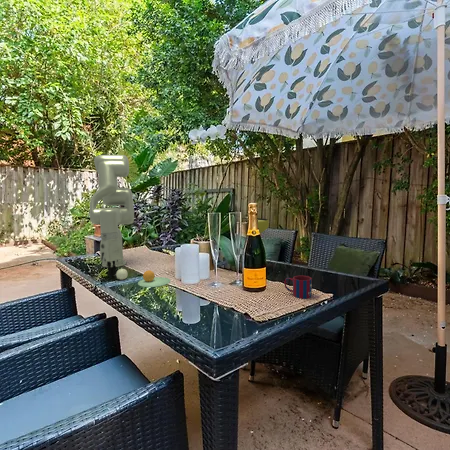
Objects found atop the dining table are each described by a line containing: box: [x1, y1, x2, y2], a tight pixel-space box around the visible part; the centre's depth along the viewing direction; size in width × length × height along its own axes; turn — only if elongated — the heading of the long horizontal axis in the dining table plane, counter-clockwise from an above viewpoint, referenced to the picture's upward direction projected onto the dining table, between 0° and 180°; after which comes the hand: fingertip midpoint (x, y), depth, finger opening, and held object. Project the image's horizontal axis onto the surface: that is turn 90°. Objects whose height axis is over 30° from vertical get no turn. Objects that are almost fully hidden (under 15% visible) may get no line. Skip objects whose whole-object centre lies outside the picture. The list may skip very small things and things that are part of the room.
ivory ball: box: [115, 268, 129, 281], centre depth 141 cm, size 5×5×5 cm
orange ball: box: [142, 270, 156, 282], centre depth 137 cm, size 5×5×5 cm
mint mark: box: [137, 276, 171, 288], centre depth 136 cm, size 14×14×1 cm
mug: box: [283, 275, 313, 300], centre depth 115 cm, size 7×10×7 cm
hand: (112, 274), depth 144 cm, fingers closed
